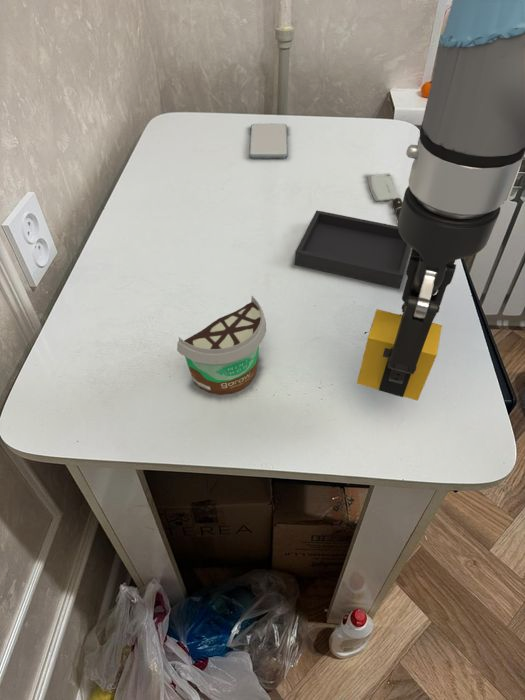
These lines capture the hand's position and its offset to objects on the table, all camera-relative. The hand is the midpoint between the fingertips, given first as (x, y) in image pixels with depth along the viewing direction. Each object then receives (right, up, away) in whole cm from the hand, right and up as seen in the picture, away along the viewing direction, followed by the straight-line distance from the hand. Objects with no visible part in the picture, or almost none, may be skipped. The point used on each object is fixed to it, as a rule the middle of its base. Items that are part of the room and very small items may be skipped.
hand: (395, 373), depth 58 cm
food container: (-19, -1, +11) cm, 22 cm away
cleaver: (+8, +32, +39) cm, 51 cm away
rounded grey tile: (-14, +49, +54) cm, 74 cm away
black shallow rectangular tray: (0, +19, +28) cm, 34 cm away
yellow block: (0, 0, +1) cm, 1 cm away
